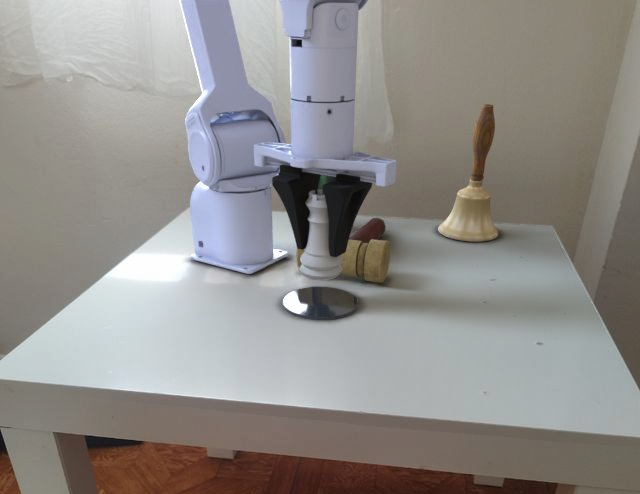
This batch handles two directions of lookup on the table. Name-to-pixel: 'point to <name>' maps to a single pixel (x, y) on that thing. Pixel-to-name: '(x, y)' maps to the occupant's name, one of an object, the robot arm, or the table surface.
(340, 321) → the table surface
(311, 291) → the coaster
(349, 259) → the gavel
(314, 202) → the rook chess piece
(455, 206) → the hand bell
